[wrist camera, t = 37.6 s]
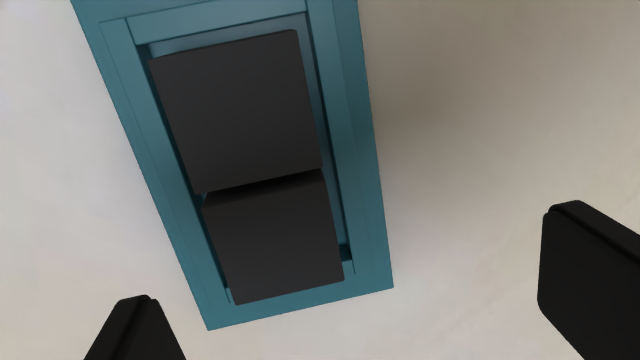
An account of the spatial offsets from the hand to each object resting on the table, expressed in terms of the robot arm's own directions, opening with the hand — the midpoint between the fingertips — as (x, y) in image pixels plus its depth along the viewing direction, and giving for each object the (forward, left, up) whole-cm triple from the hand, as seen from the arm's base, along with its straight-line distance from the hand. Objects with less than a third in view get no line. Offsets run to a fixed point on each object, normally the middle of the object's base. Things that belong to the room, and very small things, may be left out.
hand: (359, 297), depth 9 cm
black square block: (+2, +2, -10) cm, 10 cm away
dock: (+2, -1, -11) cm, 11 cm away
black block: (+2, -3, -10) cm, 11 cm away
